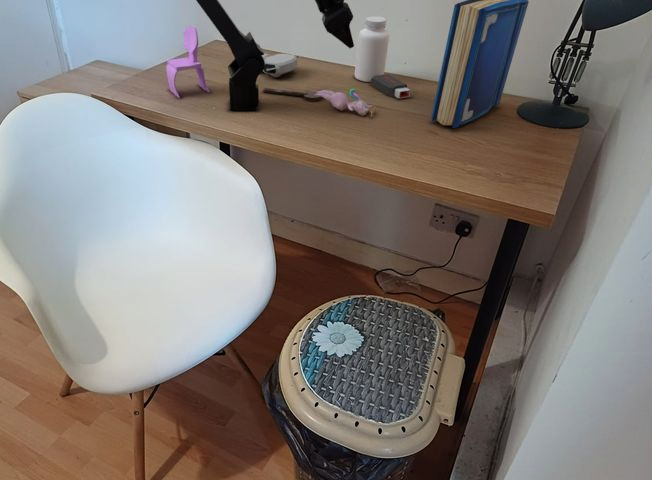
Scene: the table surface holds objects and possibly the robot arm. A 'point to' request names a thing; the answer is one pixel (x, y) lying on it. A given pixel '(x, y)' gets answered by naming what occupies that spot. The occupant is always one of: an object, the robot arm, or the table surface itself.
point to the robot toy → (279, 64)
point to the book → (477, 59)
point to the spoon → (295, 94)
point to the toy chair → (186, 61)
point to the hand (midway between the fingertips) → (349, 39)
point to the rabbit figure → (346, 101)
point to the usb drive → (390, 86)
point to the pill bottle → (372, 49)
